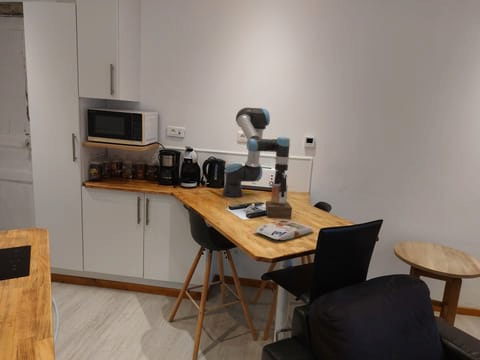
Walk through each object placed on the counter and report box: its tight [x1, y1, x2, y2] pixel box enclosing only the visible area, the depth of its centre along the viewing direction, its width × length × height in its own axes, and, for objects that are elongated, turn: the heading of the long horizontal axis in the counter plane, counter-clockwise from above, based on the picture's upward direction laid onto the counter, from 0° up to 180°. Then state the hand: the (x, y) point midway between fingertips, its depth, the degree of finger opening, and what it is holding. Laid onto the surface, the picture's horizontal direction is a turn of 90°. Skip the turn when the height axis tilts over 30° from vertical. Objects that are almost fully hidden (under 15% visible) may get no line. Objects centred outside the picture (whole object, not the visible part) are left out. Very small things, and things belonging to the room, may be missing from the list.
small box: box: [270, 183, 289, 204], centre depth 217 cm, size 8×6×10 cm
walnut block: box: [265, 200, 293, 220], centre depth 219 cm, size 14×14×7 cm
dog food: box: [253, 219, 315, 241], centre depth 186 cm, size 30×18×5 cm, turn 133°
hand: (278, 200), depth 218 cm, fingers closed on small box, 9 cm apart
